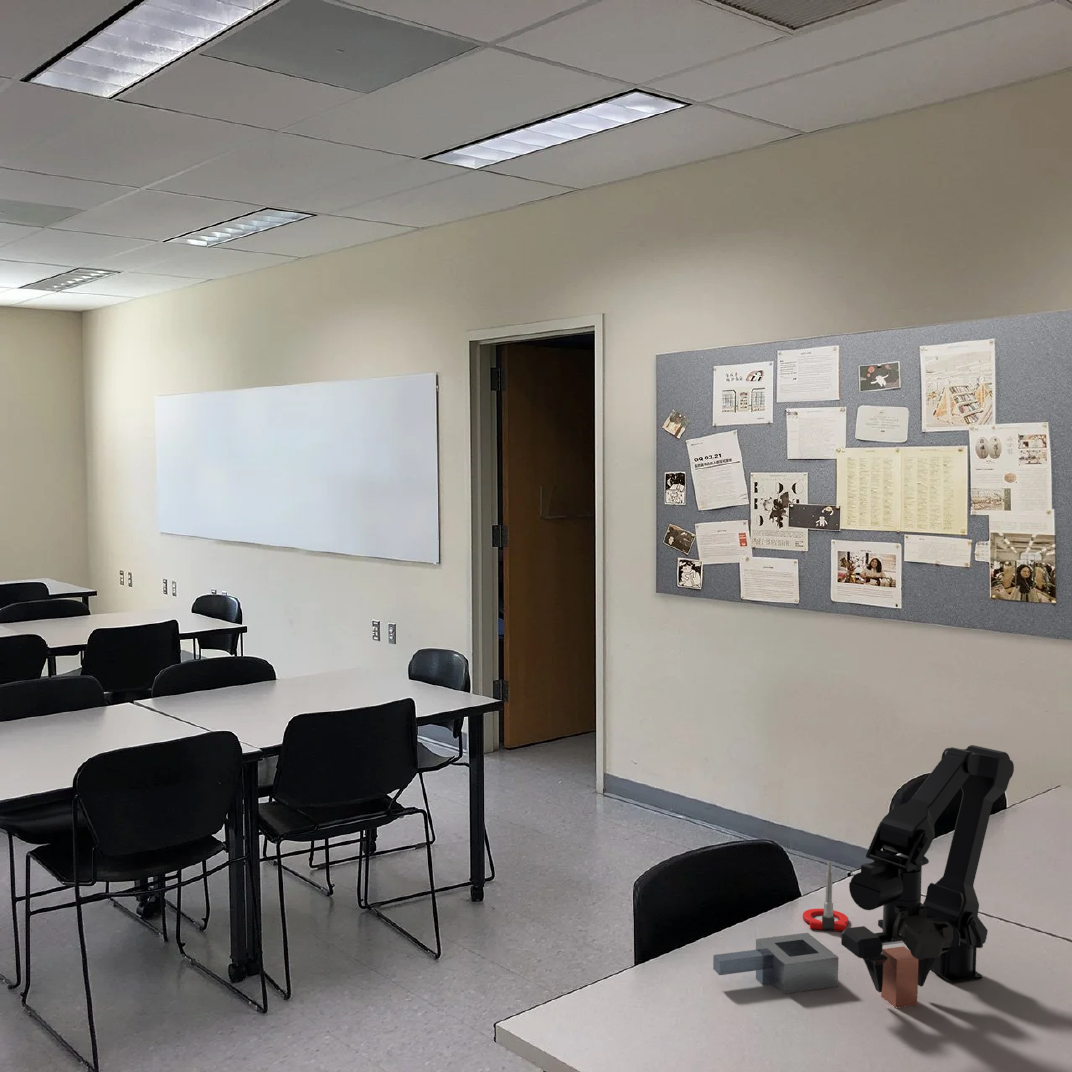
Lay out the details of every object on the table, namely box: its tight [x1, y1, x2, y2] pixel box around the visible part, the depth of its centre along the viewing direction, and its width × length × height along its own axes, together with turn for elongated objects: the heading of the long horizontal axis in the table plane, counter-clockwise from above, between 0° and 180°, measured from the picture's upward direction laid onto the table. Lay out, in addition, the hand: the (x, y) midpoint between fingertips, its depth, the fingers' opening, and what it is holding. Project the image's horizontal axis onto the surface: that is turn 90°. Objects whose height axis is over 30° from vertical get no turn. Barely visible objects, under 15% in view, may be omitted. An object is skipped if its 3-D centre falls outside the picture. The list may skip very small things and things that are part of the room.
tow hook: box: [802, 860, 849, 932], centre depth 210 cm, size 8×13×9 cm
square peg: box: [880, 945, 919, 1009], centre depth 179 cm, size 4×4×8 cm
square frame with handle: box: [712, 932, 839, 994], centre depth 186 cm, size 20×10×5 cm, turn 106°
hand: (899, 988), depth 179 cm, fingers open, 7 cm apart
